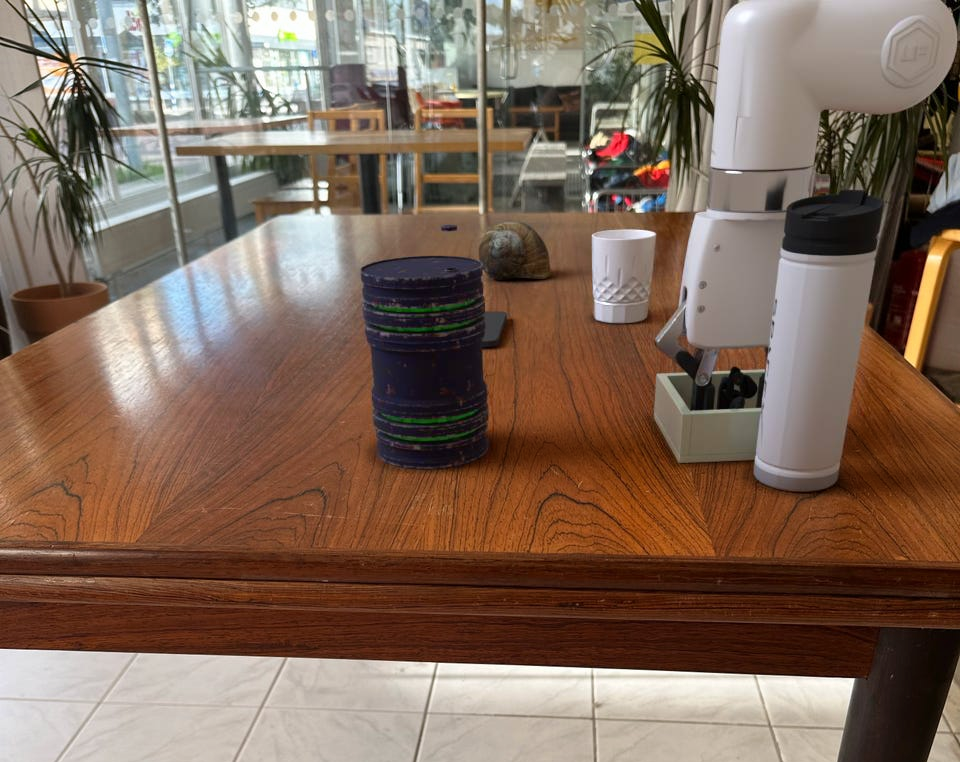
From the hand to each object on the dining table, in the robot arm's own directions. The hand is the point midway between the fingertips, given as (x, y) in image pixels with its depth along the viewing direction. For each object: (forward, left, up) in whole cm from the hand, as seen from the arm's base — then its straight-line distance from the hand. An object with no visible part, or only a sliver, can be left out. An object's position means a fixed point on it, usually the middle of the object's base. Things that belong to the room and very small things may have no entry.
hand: (733, 424), depth 81 cm
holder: (0, 0, -1) cm, 1 cm away
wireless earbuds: (0, 0, -1) cm, 1 cm away
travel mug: (-3, +10, -1) cm, 10 cm away
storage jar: (+26, 0, -1) cm, 26 cm away
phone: (+22, -41, -1) cm, 47 cm away
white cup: (+3, -46, -1) cm, 46 cm away
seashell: (+15, -76, -1) cm, 77 cm away
